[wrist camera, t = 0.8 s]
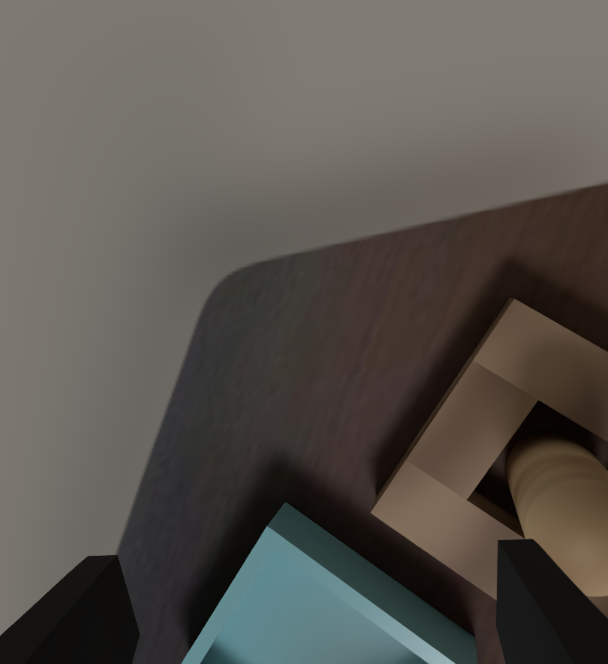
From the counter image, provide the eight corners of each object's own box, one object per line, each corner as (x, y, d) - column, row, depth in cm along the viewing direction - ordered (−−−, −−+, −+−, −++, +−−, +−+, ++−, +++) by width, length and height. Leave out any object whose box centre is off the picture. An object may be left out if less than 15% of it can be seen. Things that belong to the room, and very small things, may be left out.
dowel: (616, 462, 24) (682, 530, 17) (564, 529, 25) (607, 619, 18) (536, 414, 25) (570, 460, 18) (488, 480, 25) (503, 549, 19)
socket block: (761, 442, 22) (791, 457, 20) (591, 645, 25) (603, 675, 23) (509, 297, 25) (514, 298, 23) (376, 496, 27) (370, 512, 25)
